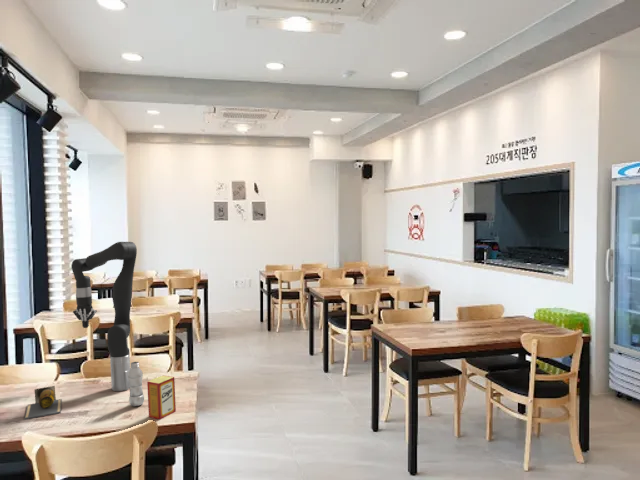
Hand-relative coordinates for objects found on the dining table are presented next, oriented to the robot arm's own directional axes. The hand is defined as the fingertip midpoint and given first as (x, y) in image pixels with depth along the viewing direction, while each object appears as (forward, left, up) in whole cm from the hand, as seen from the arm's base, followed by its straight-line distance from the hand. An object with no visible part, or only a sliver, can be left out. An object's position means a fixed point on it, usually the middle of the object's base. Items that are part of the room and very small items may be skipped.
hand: (85, 327), depth 262 cm
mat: (-4, +39, -29) cm, 49 cm away
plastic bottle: (-45, +31, -29) cm, 62 cm away
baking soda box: (-62, +40, -29) cm, 79 cm away
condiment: (+2, +31, -25) cm, 40 cm away
